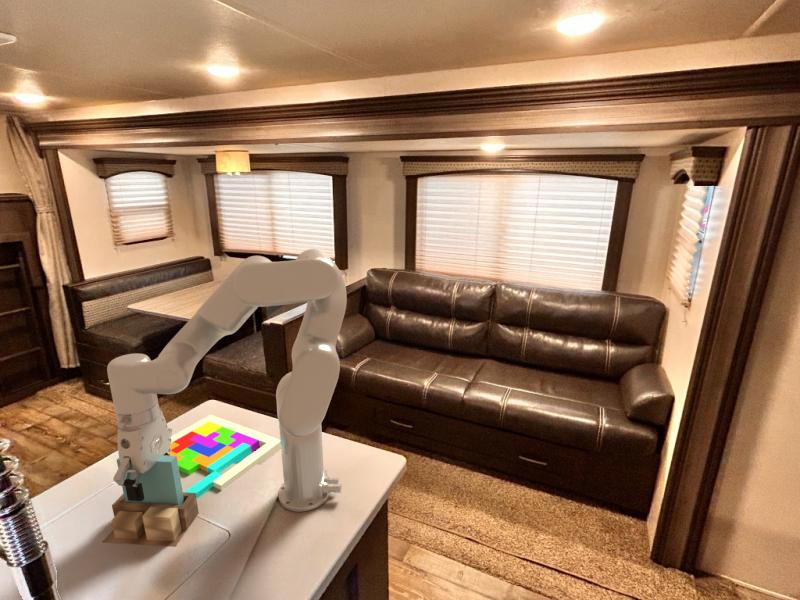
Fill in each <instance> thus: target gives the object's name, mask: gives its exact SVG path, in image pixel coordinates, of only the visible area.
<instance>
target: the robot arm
mask: <svg viewBox="0 0 800 600" xmlns="http://www.w3.org/2000/svg"><path fill="white" fill-rule="evenodd" d="M347 299H348V297H347V287H346V284H345V280H344V277H343V275H342V272H341V270H340V269H339V267H338V266H337V264H336V262H334V260H333V259H332V258H331V257H330V256H329V255H328V254H327V253H326V252H324V251H322V250H319V249H315V248H310V249H306V250H304V251H302V252H300V254H299V255H298V256H297V257H296V259H292V260H283V261H272V260H270V259H269V258H268V257H265V256H262V255H252V256H248V257H247V258H245V259H244V260H241V262H240V263H239V264H238V265H237V266H236V267H235V268H234V270H233V271H232V272H231V273H230V274H229V275H228V276H227V278H225V280H224V281H222V283H221V284H220V285H219V286H218V287H217V289H216V290H214V292H213V293H212V294H210V296H209V297H208V298H207V300H205V302H203V303H202V305H201V306H200V307H199V308H198V309H197V310H196V312H195V313H194V315H192V317H191V318H190V319H189V320H188V321H187V322H186V323H185V324H184V325H183V327H182V328H180V329H179V331H178V332H177V333H176V334H175V335H174V336H173V337H172V338H171V339H170V341H169V342H168V343H167V344H166V345H165V346H164V348H163V349H162V351H161V352H160V353H159V354H158V357H156V358H155V359H152V360H151V358H150V356H148V355H147V354H145V353H128V354H123V355H120V356H118V357H115V358H114V359H112V360H110V361H109V362H108V364H107V368H106V370H107V371H106V372H107V378H108V382H109V388H110V392H111V397H112V402H113V408H114V413H115V417H116V426H117V427H118V428H117V452H118V458H119V459H120V467H119V468H117V470H116V472H115V473H114V476H113V478H112V480H113V482H115V483H116V484H117V485H118V486H121V487H122V486H125V488H126V493H127V498H128V500H129V501H143V500H144V493H143V487H142V483H139V481H140V477H141V473H145V472H147V471H148V470H149V469H150V468H151V467H152V466H153V465H154V464H155V463H156V461H157V460H158V459H159V458H160V457H161V456H162V455H165V456H170V454H169V453H170V451H171V449H170V446H171V438H170V437H171V436H172V433H173V429H172V428H169V427H168V424H167V421H166V417H165V416H164V413H163V411H162V409H160V405H159V400H158V395H173V394H177V393H181V392H182V391H183V390H185V389H186V388H187V387H188V386H189V384H190V383H191V379H192V377H193V374H194V371H195V369H196V366H197V365H198V363H199V362H200V360H202V359H203V357H204V356H205V355H206V354H207V353H208V352H209V351H210V350H211V348H212V347H214V345H216V344H217V342H218V341H219V340H221V339H222V338H224V337H225V336H229V335H233V334H234V333H236V332H237V331H239V329H240V328H241V327H242V326H243V325H244V323H246V321H247V320H248V319H249V318H250V317H251V315H252V314H254V312H256V310H257V309H258V308H259V307H261V308H262V307H263V308H264V307H275V306H284V305H292V304H301V303H306V308H305V311H304V314H303V318H302V321H301V324H300V326H299V328H298V330H299V331H298V333H297V336H296V337H295V338H296V339H295V341H294V343H293V345H292V348H291V362H292V371H290V372H288V373H286V374H285V375H284V376H282V378H281V379H280V381H279V382H278V384H277V388H276V393H275V399H276V400H275V401H276V413H277V420H278V426H279V437H280V440H281V450H280V451H281V462H282V463H281V464H282V473H283V474H282V475H283V483H282V485H280V488H279V489H278V494H277V495H278V496H277V497H278V502H279V503H280V505H281V506H282V507H283V508H284V509H287V510H288V511H291V512H308V511H310V510H314V509H317V508H318V507H320V506H322V505H323V504H324V503H325V502H326V501H327V500H328V499H329V498H330V496H331V494H332V493H337V494H339V493H340V494H341V493H342V487H343V484H342V483H339V482H340V478H339V477H330V476H328V470H325V468H324V454H323V453H324V451H323V450H324V449H323V431H322V422H323V420H324V419H325V417H326V414H327V411H328V408H329V406H330V403H331V400H332V397H333V394H334V392H335V389H336V387H337V383H338V380H339V376H340V372H341V371H340V369H341V362H340V357H339V354H338V352H337V349H336V348H337V347H336V346H337V341H338V338H339V335H340V332H341V328H342V324H343V321H344V318H345V314H346V309H347V302H348V300H347ZM132 467H133V468H134V469H132ZM131 473H135V477H134V480H131V479H130V475H131Z"/></svg>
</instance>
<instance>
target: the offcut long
mask: <svg viewBox="0 0 800 600" xmlns="http://www.w3.org/2000/svg"><path fill="white" fill-rule="evenodd" d="M142 517H143V522H144V527H145V532H146V537H147V540H162V541H175V540H176V538H177V537H178V535H179V534H180V533H181V525H180V520H179V514H178V508H164V507H150V508H149V509H148V510H147V511H146V512H145V514H144V515H143V516H142Z"/></svg>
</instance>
